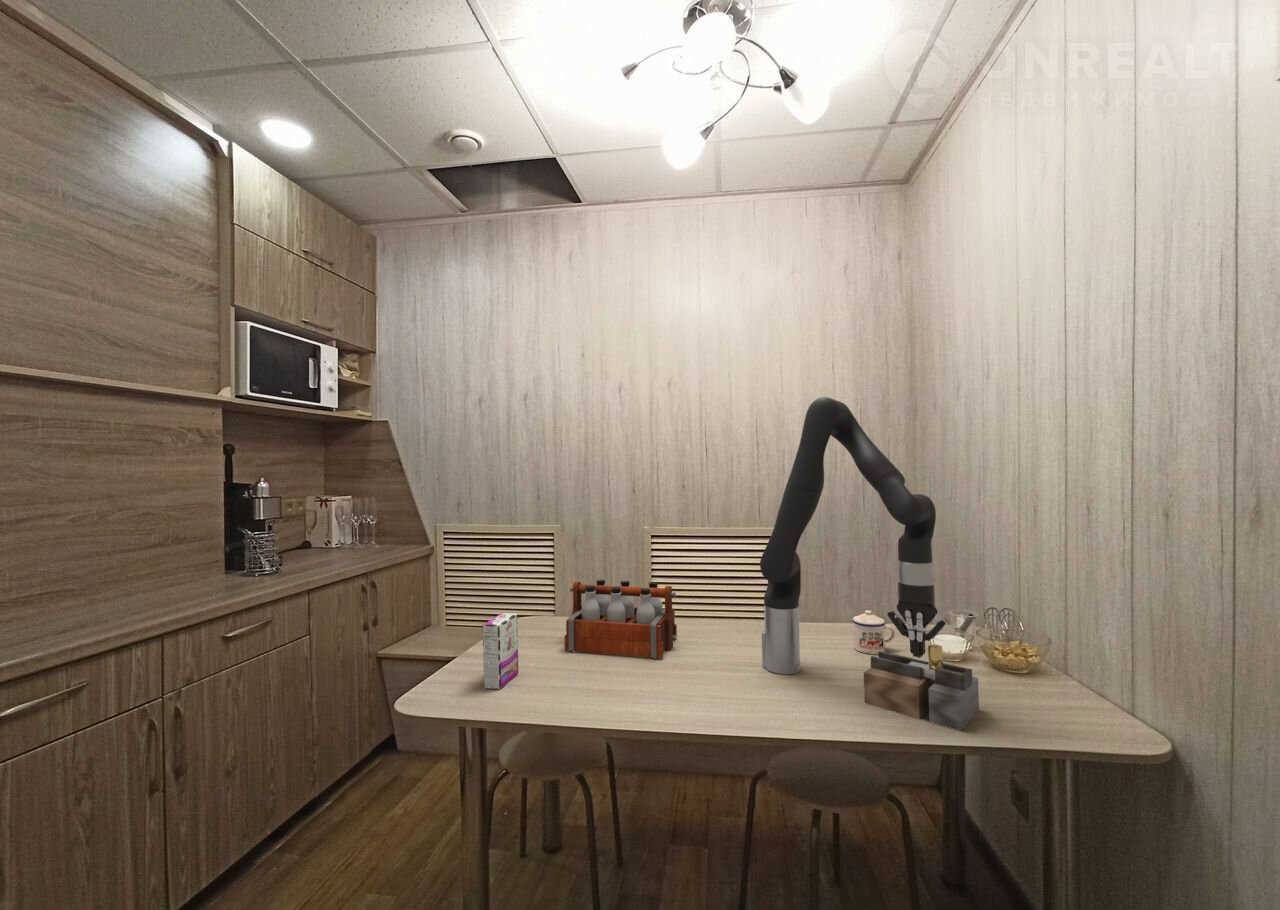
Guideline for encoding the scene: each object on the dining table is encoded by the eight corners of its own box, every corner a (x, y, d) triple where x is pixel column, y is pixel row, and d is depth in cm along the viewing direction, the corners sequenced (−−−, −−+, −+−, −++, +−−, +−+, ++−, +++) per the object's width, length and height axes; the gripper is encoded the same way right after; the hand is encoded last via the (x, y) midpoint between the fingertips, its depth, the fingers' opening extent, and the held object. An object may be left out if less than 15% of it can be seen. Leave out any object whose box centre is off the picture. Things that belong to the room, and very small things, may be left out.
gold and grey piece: (907, 673, 125) (907, 642, 125) (912, 669, 127) (911, 639, 127) (961, 686, 117) (960, 653, 117) (965, 682, 119) (964, 650, 119)
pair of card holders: (864, 702, 126) (863, 659, 126) (887, 685, 136) (886, 645, 136) (960, 731, 112) (959, 682, 112) (979, 709, 122) (977, 664, 122)
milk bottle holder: (583, 632, 185) (582, 575, 186) (683, 639, 175) (682, 579, 176) (557, 652, 165) (556, 588, 166) (668, 661, 155) (667, 594, 156)
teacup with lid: (857, 654, 158) (856, 614, 159) (849, 644, 167) (848, 606, 168) (900, 655, 157) (899, 615, 157) (890, 645, 166) (889, 607, 166)
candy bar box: (502, 672, 148) (501, 612, 149) (519, 673, 147) (518, 613, 148) (482, 689, 137) (481, 624, 138) (500, 690, 136) (499, 624, 137)
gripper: (880, 579, 127) (882, 654, 127) (941, 587, 118) (944, 667, 117) (892, 574, 132) (894, 646, 132) (952, 582, 123) (954, 659, 122)
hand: (918, 656), depth 125 cm, fingers closed
